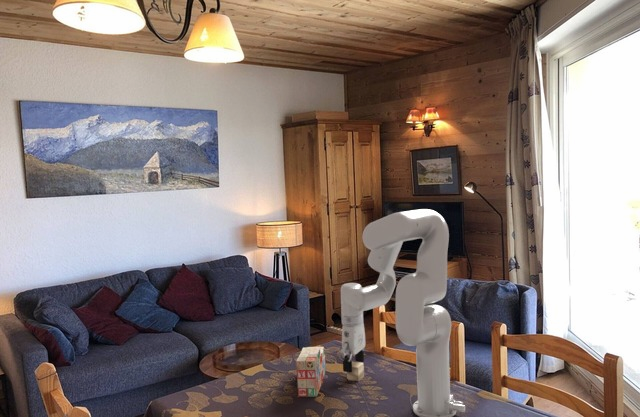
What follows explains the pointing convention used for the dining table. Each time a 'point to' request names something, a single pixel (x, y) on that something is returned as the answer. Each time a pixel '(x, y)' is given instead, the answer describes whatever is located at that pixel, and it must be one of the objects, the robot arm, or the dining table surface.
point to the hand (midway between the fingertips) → (353, 366)
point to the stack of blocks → (310, 371)
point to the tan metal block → (356, 371)
